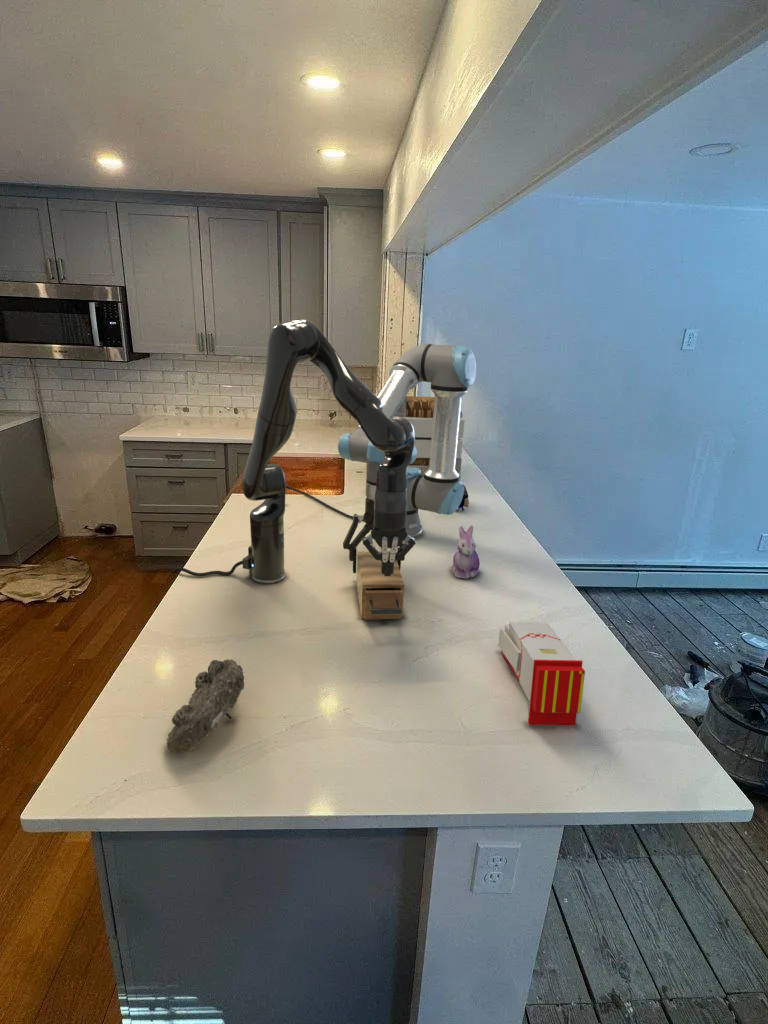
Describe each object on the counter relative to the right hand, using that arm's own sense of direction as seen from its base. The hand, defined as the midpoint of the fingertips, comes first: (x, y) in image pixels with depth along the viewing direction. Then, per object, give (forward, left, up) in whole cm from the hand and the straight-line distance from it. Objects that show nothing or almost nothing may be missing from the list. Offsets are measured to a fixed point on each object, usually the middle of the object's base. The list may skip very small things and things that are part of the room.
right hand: (376, 570), depth 159 cm
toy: (+54, -1, -5) cm, 54 cm away
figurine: (+9, +28, -5) cm, 30 cm away
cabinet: (+6, -4, -5) cm, 9 cm away
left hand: (+18, -13, +10) cm, 24 cm away
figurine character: (-34, +72, -5) cm, 80 cm away
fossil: (+23, -59, -5) cm, 64 cm away
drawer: (+10, -7, -4) cm, 13 cm away
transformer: (-79, +94, -5) cm, 122 cm away
